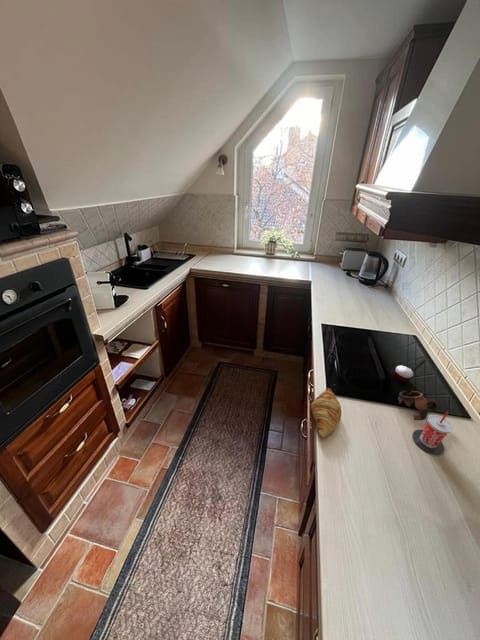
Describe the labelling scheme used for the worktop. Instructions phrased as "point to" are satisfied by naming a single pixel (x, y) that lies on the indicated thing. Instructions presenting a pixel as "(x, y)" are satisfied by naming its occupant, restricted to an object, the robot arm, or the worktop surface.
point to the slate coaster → (435, 451)
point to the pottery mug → (418, 403)
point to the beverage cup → (435, 430)
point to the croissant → (326, 412)
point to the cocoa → (405, 372)
